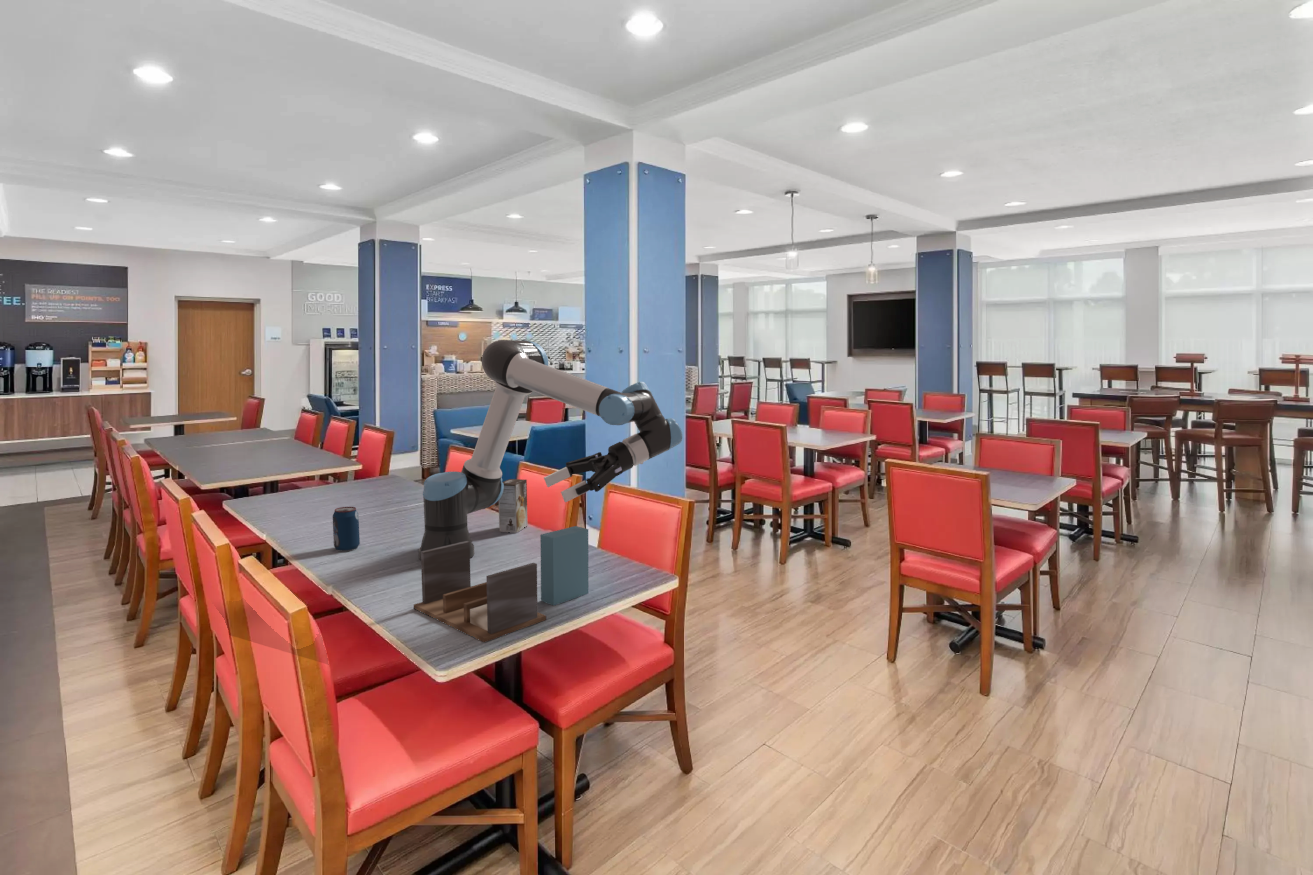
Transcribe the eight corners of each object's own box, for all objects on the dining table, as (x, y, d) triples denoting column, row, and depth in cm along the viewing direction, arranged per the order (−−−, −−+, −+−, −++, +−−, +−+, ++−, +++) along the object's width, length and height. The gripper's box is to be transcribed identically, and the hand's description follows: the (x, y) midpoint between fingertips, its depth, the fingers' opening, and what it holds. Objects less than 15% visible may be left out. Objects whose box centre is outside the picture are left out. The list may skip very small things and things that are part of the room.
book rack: (413, 608, 155) (411, 553, 153) (474, 590, 167) (472, 538, 165) (484, 642, 137) (482, 579, 136) (545, 619, 149) (545, 562, 148)
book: (541, 600, 161) (540, 534, 159) (575, 589, 169) (575, 525, 167) (553, 605, 158) (553, 538, 156) (588, 593, 166) (588, 529, 164)
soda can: (364, 545, 204) (362, 506, 203) (351, 552, 197) (350, 511, 196) (342, 544, 205) (340, 505, 203) (329, 551, 198) (327, 511, 197)
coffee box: (510, 525, 230) (509, 478, 228) (528, 526, 229) (527, 479, 227) (498, 532, 221) (497, 483, 219) (517, 533, 220) (516, 484, 218)
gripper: (652, 478, 168) (576, 517, 161) (613, 455, 190) (544, 489, 182) (643, 451, 165) (565, 490, 158) (604, 431, 187) (534, 464, 180)
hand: (554, 489), depth 170 cm, fingers open, 13 cm apart
